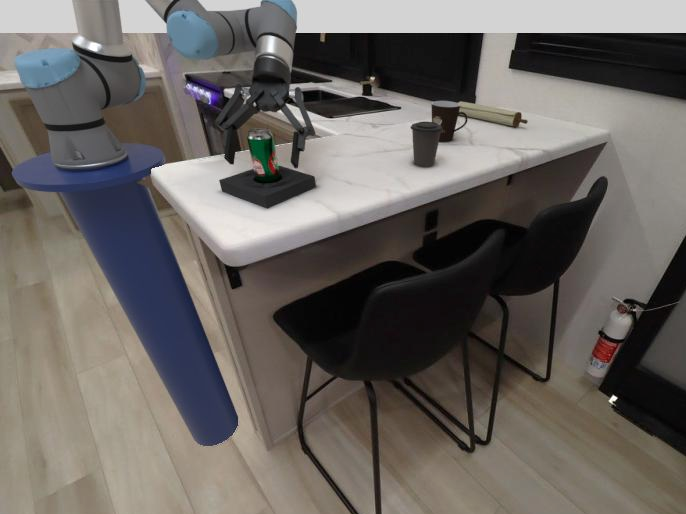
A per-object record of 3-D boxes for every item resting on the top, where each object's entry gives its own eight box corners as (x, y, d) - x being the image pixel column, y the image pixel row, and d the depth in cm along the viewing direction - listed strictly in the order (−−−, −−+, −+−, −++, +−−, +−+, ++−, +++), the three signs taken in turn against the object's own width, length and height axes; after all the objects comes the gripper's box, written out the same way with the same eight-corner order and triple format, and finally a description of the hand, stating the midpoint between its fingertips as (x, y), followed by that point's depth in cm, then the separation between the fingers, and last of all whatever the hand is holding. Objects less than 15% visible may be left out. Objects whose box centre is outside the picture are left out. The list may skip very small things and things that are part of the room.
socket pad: (221, 191, 81) (218, 179, 79) (272, 173, 90) (270, 162, 88) (267, 208, 75) (264, 196, 73) (316, 187, 84) (314, 176, 83)
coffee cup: (445, 164, 99) (450, 124, 93) (424, 171, 95) (428, 129, 88) (423, 156, 104) (426, 117, 97) (402, 163, 99) (403, 122, 93)
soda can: (253, 188, 83) (241, 130, 75) (274, 183, 85) (265, 126, 78) (264, 195, 80) (252, 135, 72) (286, 189, 82) (276, 131, 75)
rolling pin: (529, 128, 133) (532, 112, 130) (521, 131, 129) (525, 115, 126) (454, 112, 149) (455, 98, 146) (445, 114, 145) (447, 99, 142)
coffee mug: (424, 136, 120) (426, 101, 113) (447, 134, 123) (451, 100, 116) (441, 147, 111) (445, 110, 105) (466, 144, 114) (471, 108, 108)
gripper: (334, 83, 83) (325, 174, 81) (223, 78, 84) (211, 168, 81) (327, 57, 76) (317, 157, 73) (205, 51, 76) (191, 150, 74)
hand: (261, 163), depth 77 cm, fingers open, 13 cm apart
